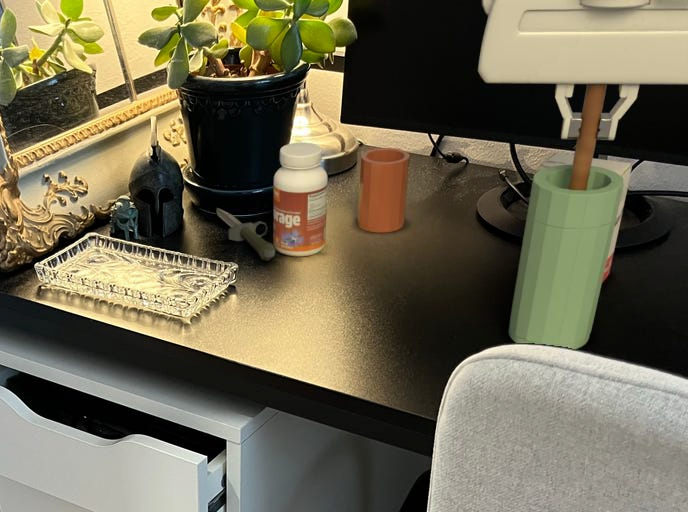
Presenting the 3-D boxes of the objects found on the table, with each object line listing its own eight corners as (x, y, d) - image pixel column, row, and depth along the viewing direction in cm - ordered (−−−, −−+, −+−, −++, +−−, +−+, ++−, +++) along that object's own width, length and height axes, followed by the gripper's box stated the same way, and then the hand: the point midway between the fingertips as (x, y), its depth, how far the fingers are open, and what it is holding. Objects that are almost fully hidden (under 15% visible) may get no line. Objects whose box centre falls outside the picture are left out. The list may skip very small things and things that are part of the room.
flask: (587, 319, 103) (621, 165, 93) (589, 355, 97) (626, 196, 87) (509, 314, 105) (534, 163, 94) (507, 349, 99) (533, 192, 89)
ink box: (611, 274, 110) (637, 161, 102) (596, 291, 108) (621, 176, 100) (535, 259, 114) (554, 149, 106) (519, 275, 111) (537, 163, 103)
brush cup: (406, 216, 126) (411, 148, 120) (401, 233, 122) (406, 164, 116) (361, 214, 127) (364, 147, 121) (355, 231, 123) (358, 163, 117)
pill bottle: (262, 247, 120) (261, 149, 113) (300, 233, 123) (302, 136, 115) (297, 262, 116) (298, 162, 109) (336, 247, 119) (339, 148, 111)
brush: (573, 291, 99) (621, 51, 85) (574, 305, 97) (623, 61, 83) (540, 289, 100) (582, 51, 86) (539, 303, 98) (582, 61, 83)
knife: (201, 202, 128) (238, 196, 129) (202, 218, 130) (238, 212, 131) (253, 248, 115) (294, 241, 116) (254, 266, 116) (294, 259, 117)
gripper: (485, -40, 79) (464, 147, 88) (767, -45, 75) (714, 152, 84) (488, -55, 83) (468, 124, 93) (755, -61, 79) (705, 128, 88)
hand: (587, 137), depth 88 cm, fingers closed on brush
